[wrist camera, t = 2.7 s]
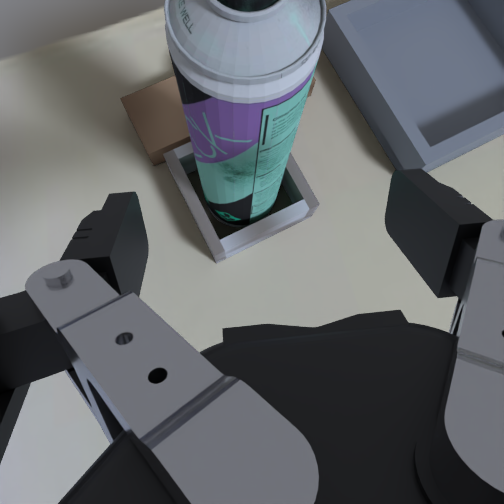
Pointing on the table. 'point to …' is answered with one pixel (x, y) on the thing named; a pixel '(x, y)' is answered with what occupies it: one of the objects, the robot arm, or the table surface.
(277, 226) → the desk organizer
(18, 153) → the table surface
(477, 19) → the tray
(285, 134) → the spray can
